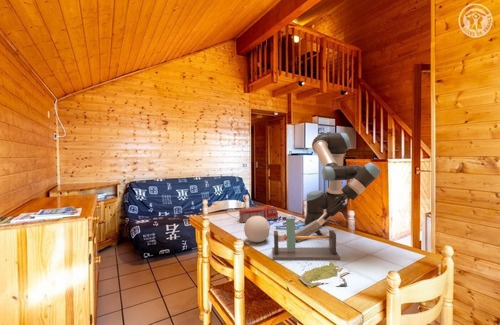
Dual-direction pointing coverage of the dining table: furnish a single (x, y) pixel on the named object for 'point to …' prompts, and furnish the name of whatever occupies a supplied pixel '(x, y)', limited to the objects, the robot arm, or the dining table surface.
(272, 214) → the toy
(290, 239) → the sleeve
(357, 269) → the dining table surface
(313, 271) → the landscape model
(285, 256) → the grey slider rail stand
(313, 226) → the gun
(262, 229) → the toy
